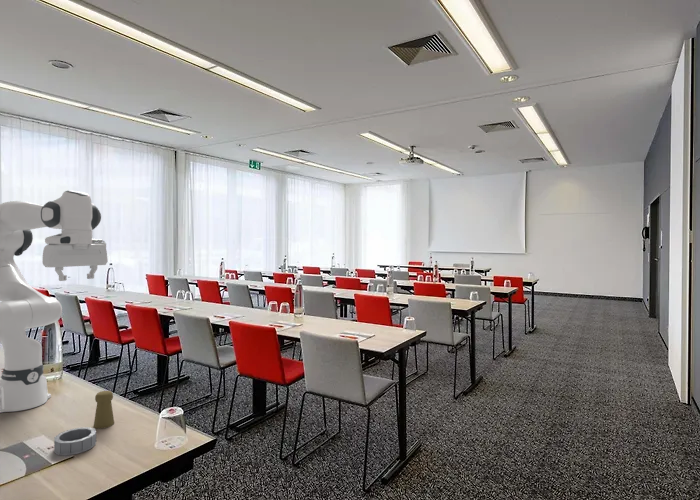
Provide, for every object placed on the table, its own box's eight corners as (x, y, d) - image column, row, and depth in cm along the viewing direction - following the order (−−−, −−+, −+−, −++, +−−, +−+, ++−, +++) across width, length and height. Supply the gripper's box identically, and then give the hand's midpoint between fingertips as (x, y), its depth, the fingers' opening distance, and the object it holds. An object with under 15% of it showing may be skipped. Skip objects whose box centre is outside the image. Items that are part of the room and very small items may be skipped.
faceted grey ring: (46, 450, 126) (46, 438, 126) (81, 436, 135) (81, 424, 135) (68, 458, 121) (68, 446, 121) (103, 443, 131) (103, 431, 131)
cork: (105, 429, 140) (105, 395, 140) (89, 427, 141) (89, 394, 141) (118, 421, 146) (118, 389, 146) (103, 420, 147) (103, 388, 147)
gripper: (100, 239, 156) (99, 277, 157) (39, 238, 138) (39, 281, 138) (111, 239, 154) (111, 278, 154) (51, 238, 135) (51, 282, 135)
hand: (76, 279), depth 146 cm, fingers open, 8 cm apart
